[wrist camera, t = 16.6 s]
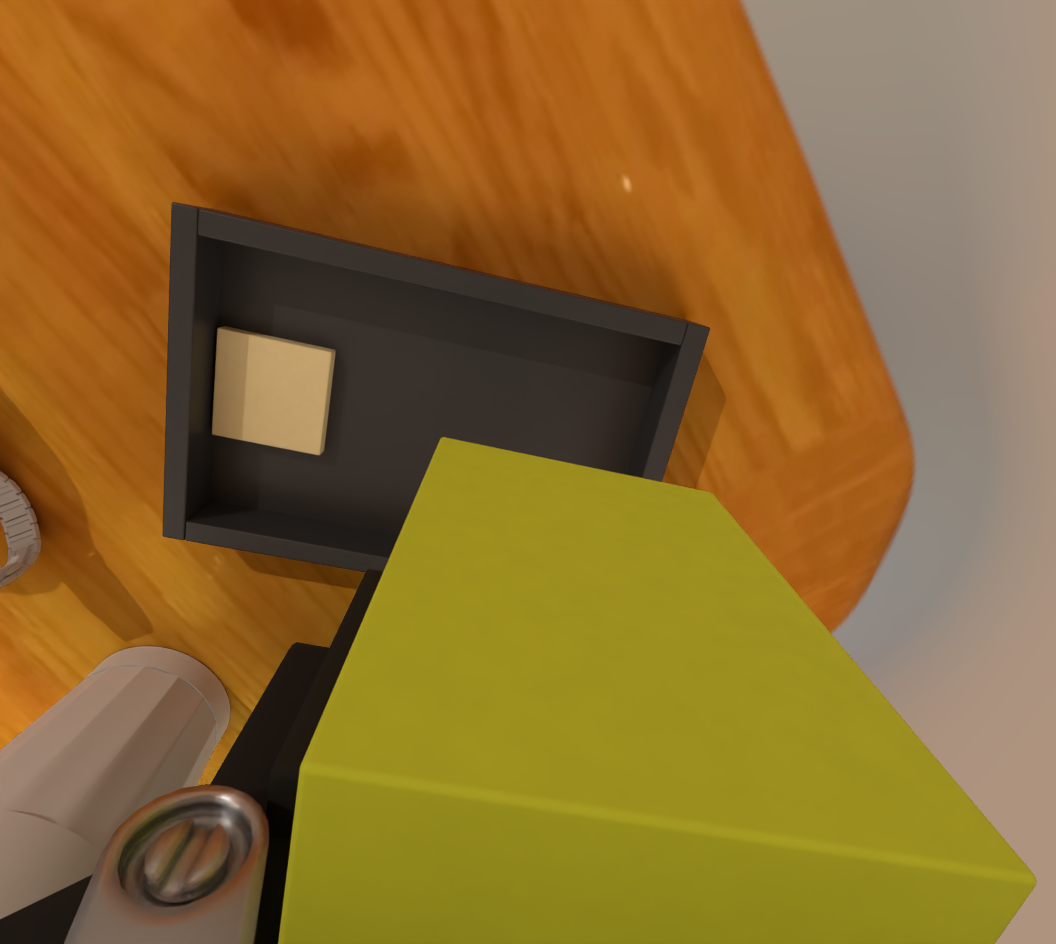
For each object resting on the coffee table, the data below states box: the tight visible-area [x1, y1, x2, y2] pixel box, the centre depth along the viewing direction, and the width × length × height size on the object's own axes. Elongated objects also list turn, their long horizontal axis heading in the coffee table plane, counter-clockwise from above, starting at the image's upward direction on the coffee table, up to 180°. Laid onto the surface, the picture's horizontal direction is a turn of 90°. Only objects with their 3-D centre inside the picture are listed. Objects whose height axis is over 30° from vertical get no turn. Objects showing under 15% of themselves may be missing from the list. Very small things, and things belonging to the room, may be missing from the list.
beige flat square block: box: [212, 326, 336, 455], centre depth 22 cm, size 4×4×1 cm
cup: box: [0, 646, 230, 919], centre depth 22 cm, size 8×8×12 cm
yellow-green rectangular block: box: [278, 437, 1036, 944], centre depth 8 cm, size 4×7×6 cm, turn 167°
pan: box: [163, 202, 710, 572], centre depth 22 cm, size 18×12×3 cm, turn 77°
